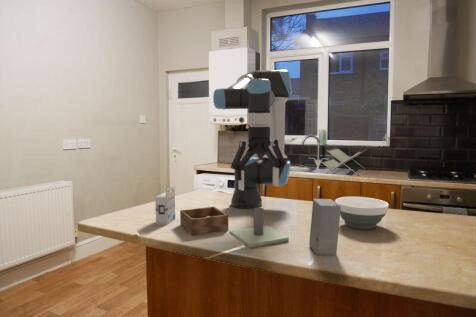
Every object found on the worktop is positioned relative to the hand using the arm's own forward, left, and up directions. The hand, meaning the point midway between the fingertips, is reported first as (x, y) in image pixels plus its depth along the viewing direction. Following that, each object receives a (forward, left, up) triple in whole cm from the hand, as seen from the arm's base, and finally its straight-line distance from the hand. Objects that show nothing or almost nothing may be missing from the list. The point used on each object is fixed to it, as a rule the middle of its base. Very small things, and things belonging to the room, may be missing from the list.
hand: (258, 187), depth 115 cm
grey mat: (0, 0, -18) cm, 18 cm away
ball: (+11, -20, -17) cm, 28 cm away
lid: (0, 0, -17) cm, 17 cm away
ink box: (+25, -31, -18) cm, 44 cm away
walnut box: (+14, -17, -18) cm, 28 cm away
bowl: (-43, +5, -18) cm, 47 cm away
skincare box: (-13, +19, -18) cm, 29 cm away
